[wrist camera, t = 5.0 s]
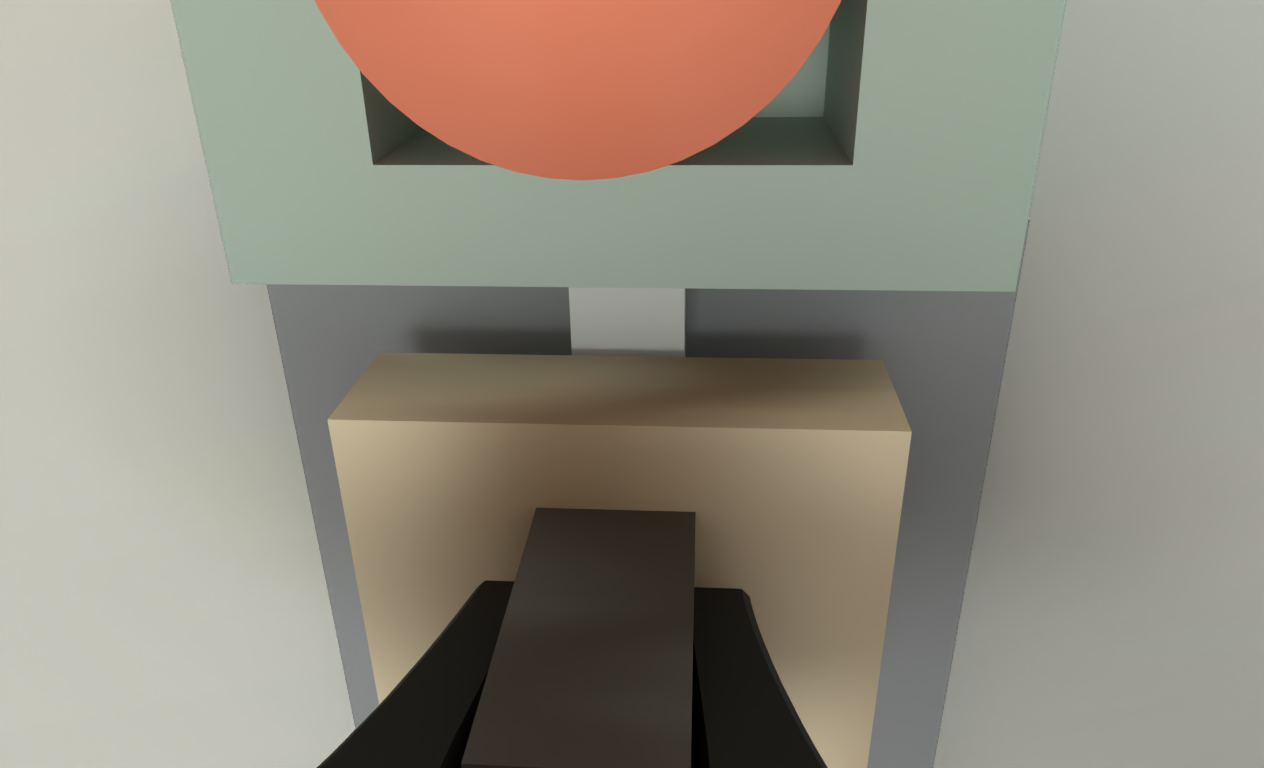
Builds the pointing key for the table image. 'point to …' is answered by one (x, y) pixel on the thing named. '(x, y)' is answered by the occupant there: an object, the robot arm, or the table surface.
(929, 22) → the green button housing
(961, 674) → the table surface
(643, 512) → the carriage
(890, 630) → the track
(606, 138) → the button
